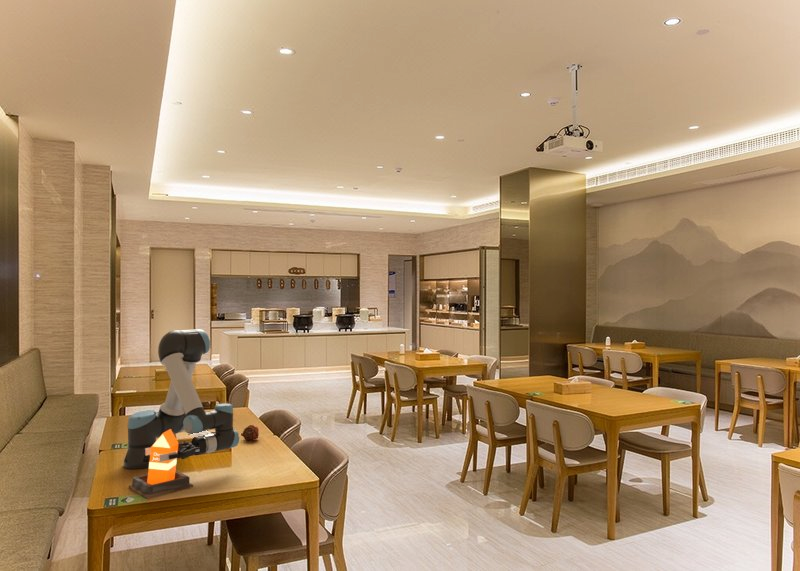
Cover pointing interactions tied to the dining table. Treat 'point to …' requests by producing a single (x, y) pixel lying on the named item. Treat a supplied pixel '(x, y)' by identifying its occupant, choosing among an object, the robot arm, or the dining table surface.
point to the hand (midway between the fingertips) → (152, 455)
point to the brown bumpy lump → (250, 433)
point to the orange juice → (166, 468)
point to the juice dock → (159, 485)
